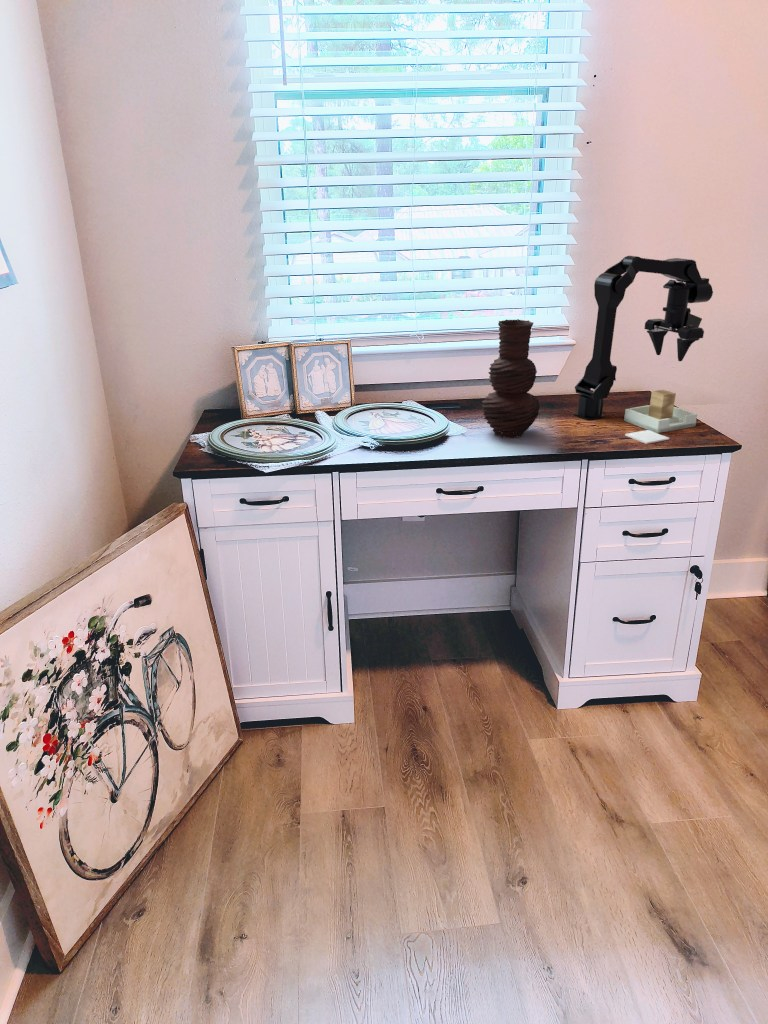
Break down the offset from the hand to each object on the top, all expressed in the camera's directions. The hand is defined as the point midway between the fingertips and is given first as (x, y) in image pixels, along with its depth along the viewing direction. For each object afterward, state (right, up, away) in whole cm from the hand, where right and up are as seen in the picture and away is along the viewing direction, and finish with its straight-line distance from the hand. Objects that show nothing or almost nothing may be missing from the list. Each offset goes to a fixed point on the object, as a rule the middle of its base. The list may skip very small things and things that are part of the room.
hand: (669, 358), depth 225 cm
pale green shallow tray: (-7, -21, -11) cm, 25 cm away
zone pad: (-14, -26, -23) cm, 37 cm away
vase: (-51, -25, -18) cm, 59 cm away
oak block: (-7, -19, -12) cm, 24 cm away
